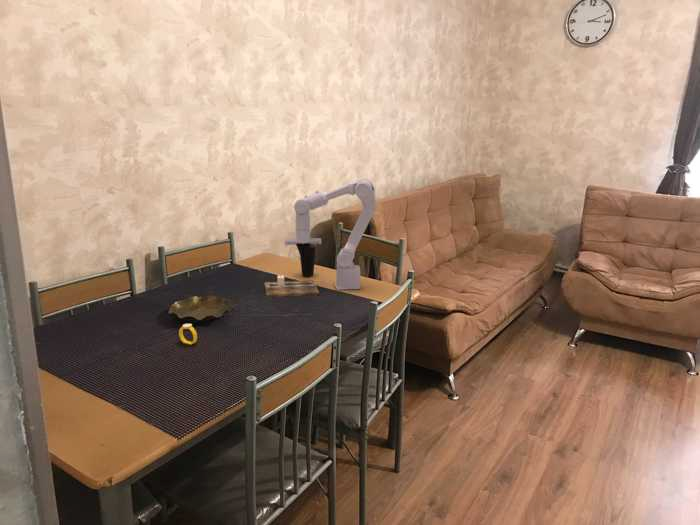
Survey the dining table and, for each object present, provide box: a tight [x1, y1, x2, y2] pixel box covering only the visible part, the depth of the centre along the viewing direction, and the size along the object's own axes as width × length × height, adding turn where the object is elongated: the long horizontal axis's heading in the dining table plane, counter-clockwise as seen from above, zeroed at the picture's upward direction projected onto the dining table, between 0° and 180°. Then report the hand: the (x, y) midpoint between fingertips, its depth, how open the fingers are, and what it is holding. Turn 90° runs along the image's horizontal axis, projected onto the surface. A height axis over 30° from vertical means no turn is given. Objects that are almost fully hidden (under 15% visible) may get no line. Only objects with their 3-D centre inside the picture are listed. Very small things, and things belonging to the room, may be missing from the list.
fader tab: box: [276, 274, 285, 286], centre depth 217 cm, size 3×4×4 cm
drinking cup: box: [299, 244, 318, 278], centre depth 235 cm, size 8×8×20 cm
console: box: [264, 279, 320, 298], centre depth 218 cm, size 20×16×2 cm
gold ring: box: [178, 323, 198, 345], centre depth 166 cm, size 6×3×6 cm, turn 64°
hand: (303, 261), depth 222 cm, fingers closed
